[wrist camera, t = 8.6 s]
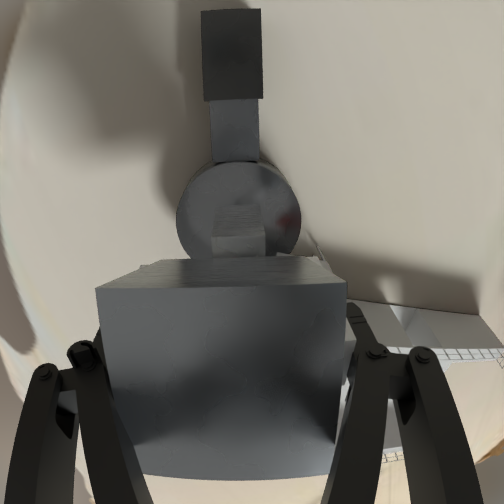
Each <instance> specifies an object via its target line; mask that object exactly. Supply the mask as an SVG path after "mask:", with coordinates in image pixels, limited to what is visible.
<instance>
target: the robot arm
mask: <svg viewBox="0 0 504 504" xmlns="http://www.w3.org/2000/svg"><path fill="white" fill-rule="evenodd" d="M306 258H308V259H310V260H311V261H313V262H315V263H316V264H318V265H320V266H321V267H322V265H321V263H320V261H319V259H318V257H317V256H315V257H306ZM145 266H148V265H141V266H140V268H139V269H141V268H143V267H145ZM67 357H68V358H69V360H70V362H71V364H72V366H73V368H70V369H64V370H58V368H57V367H56V366H55V365H54V364H51V363H46V364H42V365H40V366H39V367H38V368H36V369H35V371H34V373H33V375H32V378H31V381H30V384H29V388H28V391H27V394H26V398H25V401H24V405H23V409H22V412H21V416H20V420H19V424H18V428H17V432H16V437H15V442H14V446H13V451H12V456H11V461H10V466H9V472H8V478H7V485H6V493H5V501H4V504H73V488H74V472H75V459H76V448H77V439H78V430H79V423H80V430H81V437H82V443H83V448H84V454H85V459H86V464H87V469H88V474H89V478H90V483H91V487H92V491H93V495H94V499H95V503H96V504H154V503H153V501H152V498H151V495H150V493H149V490H148V487H147V485H146V482H145V479H144V476H143V473H142V470H141V467H140V464H139V461H138V458H137V455H136V452H135V449H134V446H133V444H132V442H131V440H130V438H129V436H128V434H127V431H126V429H125V427H124V425H123V423H122V421H121V419H120V416H119V414H118V412H117V410H116V405H115V401H114V397H113V393H112V388H111V384H110V379H109V374H108V369H107V364H106V359H105V353H104V348H103V342H102V335H101V329H100V327H99V330H98V332H97V334H96V336H95V338H94V341H93V342H91V341H88V340H83V341H79V342H76V343H74V344H73V345H72V346H70V348H69V349H68V351H67ZM347 378H348V381H349V384H350V385H349V389H348V392H347V395H346V398H345V401H346V403H345V408H344V413H343V418H342V422H341V427H340V431H339V436H338V440H337V444H336V448H335V453H334V457H333V461H332V464H331V468H330V472H329V476H328V479H327V483H326V487H325V490H324V493H323V497H322V500H321V504H374V502H375V497H376V491H377V486H378V480H379V474H380V468H381V461H382V454H383V446H384V438H385V429H386V420H387V409H388V399H392V400H393V404H394V409H395V413H396V418H397V423H398V428H399V433H400V438H401V443H402V449H403V454H404V460H405V466H406V472H407V478H408V485H409V492H410V500H411V504H484V503H483V498H482V494H481V490H480V485H479V481H478V477H477V473H476V469H475V465H474V462H473V458H472V455H471V451H470V448H469V444H468V441H467V438H466V434H465V431H464V428H463V425H462V422H461V419H460V416H459V413H458V410H457V407H456V404H455V402H454V399H453V396H452V393H451V391H450V388H449V385H448V383H447V380H446V377H445V375H444V372H443V370H442V367H441V365H440V362H439V360H438V357H437V355H436V354H435V352H434V351H433V350H431V349H430V348H427V347H425V346H417V347H414V348H412V349H411V350H410V352H409V354H398V353H392V352H390V351H389V350H388V348H387V347H386V346H384V345H383V344H381V343H378V341H377V339H376V337H375V336H374V334H373V332H372V330H371V328H370V326H369V324H368V323H367V320H366V318H365V317H364V314H363V312H362V311H361V309H360V308H359V307H358V306H357V305H356V304H355V303H353V302H348V303H347V307H346V331H345V349H344V363H343V376H342V386H344V385H345V382H346V379H347Z"/></svg>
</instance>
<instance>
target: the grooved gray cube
mask: <svg viewBox="0 0 504 504" xmlns="http://www.w3.org/2000/svg"><path fill="white" fill-rule="evenodd" d="M95 290H96V299H97V307H98V315H99V322H100V329H101V335H102V342H103V348H104V353H105V359H106V364H107V369H108V374H109V379H110V384H111V388H112V393H113V397H114V401H115V405H116V410H117V412H118V414H119V416H120V419H121V421H122V423H123V425H124V427H125V429H126V431H127V434H128V436H129V438H130V440H131V442H132V444H133V446H134V449H135V452H136V455H137V458H138V461H139V464H140V467H141V470H142V473H143V474H147V475H155V476H163V477H173V478H184V479H199V480H228V481H245V480H274V479H289V478H300V477H310V476H319V475H326V474H329V472H330V468H331V464H332V461H333V456H334V449H335V441H336V434H337V426H338V417H339V408H340V398H341V388H342V376H343V363H344V349H345V331H346V307H347V282H346V281H344V280H343V279H341V278H339V277H338V276H336V275H335V274H333V273H331V272H330V271H328V270H326V269H325V268H323V267H321V266H320V265H318V264H316V263H315V262H313V261H311V260H310V259H308V258H306V257H305V256H303V255H299V256H267V257H235V258H201V259H166V260H159V261H157V262H155V263H152V264H150V265H148V266H145V267H143V268H141V269H138V270H136V271H134V272H131V273H129V274H127V275H124V276H122V277H120V278H117V279H115V280H113V281H110V282H108V283H106V284H103V285H101V286H99V287H97V288H95Z"/></svg>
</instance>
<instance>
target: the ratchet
mask: <svg viewBox="0 0 504 504" xmlns="http://www.w3.org/2000/svg"><path fill="white" fill-rule="evenodd" d="M201 34H202V66H203V90H204V101H209V108H210V127H211V145H212V161H211V162H209V163H207V164H206V165H205V166H203V167H202V168H201V169H200V170H198V171H197V172H196V173H195V175H194V176H193V177H192V179H191V180H190V182H189V184H188V185H187V187H186V189H185V191H184V193H183V195H182V197H181V200H180V202H179V205H178V209H177V215H176V228H177V233H178V237H179V240H180V242H181V244H182V246H183V248H184V250H185V251H186V253H187V254H188V255H189V256H190V258H191V259H201V258H235V257H267V256H276V254H277V252H280V253H285V254H290V253H291V251H292V250H293V248H294V246H295V245H296V242H297V240H298V237H299V234H300V229H301V212H300V207H299V204H298V201H297V199H296V197H295V195H294V193H293V191H292V189H291V187H290V185H289V183H288V181H287V180H286V178H285V177H284V176H283V174H282V173H281V172H280V171H279V170H278V169H277V168H275V167H274V166H273V165H271V164H270V163H268V162H267V161H264V160H262V159H260V158H259V114H258V99H263V69H262V33H261V9H224V10H209V11H201Z"/></svg>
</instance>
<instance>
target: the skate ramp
mask: <svg viewBox="0 0 504 504" xmlns="http://www.w3.org/2000/svg"><path fill="white" fill-rule="evenodd" d="M316 247H317V249H318V251H319V253H320V256H321V258H322V260H323V261H322V260H319V261H320V263H321V265H322V267H323V268H325V269H326V270H328V271H330V272H331V273H333V272H332V270H331V268H330V266H329V264H328V262H327V261H326V260H325V258H324V256H323V254H322V252H321V250H320V248H319V246H318V245H316ZM276 256H295V255H290V254H285V253H280V252H277V254H276ZM313 257H315V255H314V254H313ZM348 302H353V303H355V304H356V305H357V306H358V307H359V308H360V309H361V311H362V312H363V314H364V317H365V318H366V320H367V323H368V324H369V326H370V328H371V330H372V332H373V334H374V336H375V337H376V339H377V341H378V343H381V344H383V345H384V346H386V347H387V348H388V350H389V351H390V352H392V353H398V354H409V352H410V350H411V349H412V348H414V347H417V346H425V347H427V348H430V349H431V350H433V351H434V352H435V354H436V355H437V357H438V360H439V362H440V365H441V367H442V370H443V372H444V373H445V371H446V370H447V369H448V367H449V366H450V365H451V364H452V362H475V361H492V360H497V359H498V358H499V356H500V355H501V356H502V352H503V351H504V346H503V345H502V343H501V342H500V341H499V339H498V338H497V337H496V335H495V334H494V333H493V331H492V330H491V329H490V328H489V326H488V325H487V324H486V323H485V321H484V320H483V319H482V318H481V316H478V315H469V314H460V313H451V312H442V311H434V310H426V309H418V308H410V307H402V306H394V305H387V304H380V303H373V302H365V301H358V300H351V299H347V303H348ZM500 358H503V359H504V357H503V356H502V357H500ZM502 361H503V360H502ZM502 361H501V362H502ZM497 362H498V361H497ZM501 362H500V363H501ZM498 363H499V362H498ZM499 365H500V364H499ZM500 366H501V365H500ZM503 367H504V366H503ZM501 368H502V367H501ZM349 385H350V384H349V381H348V378H347V379H346V382H345V385H344V386H342V388H341V398H340V408H339V417H338V426H337V434H336V441H335V448H336V444H337V440H338V436H339V431H340V427H341V422H342V418H343V413H344V408H345V403H346V401H345V398H346V395H347V392H348V389H349ZM402 451H403V449H402V443H401V438H400V433H399V428H398V423H397V418H396V413H395V409H394V404H393V400H392V399H388V409H387V420H386V429H385V438H384V446H383V454H384V455H385V456H386V454H389V453H396V452H402ZM334 453H335V449H334ZM395 455H396V456H397V454H395ZM396 456H395V457H396ZM400 456H403V455H400ZM333 457H334V456H333ZM385 458H386V457H385ZM385 458H382V459H385ZM388 458H391V457H388ZM396 458H397V459H398V457H396ZM386 459H387V458H386ZM401 460H404V459H401ZM386 461H387V460H386ZM396 461H398V460H396ZM387 462H388V461H387ZM387 462H384V463H387ZM390 462H393V461H390Z"/></svg>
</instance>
